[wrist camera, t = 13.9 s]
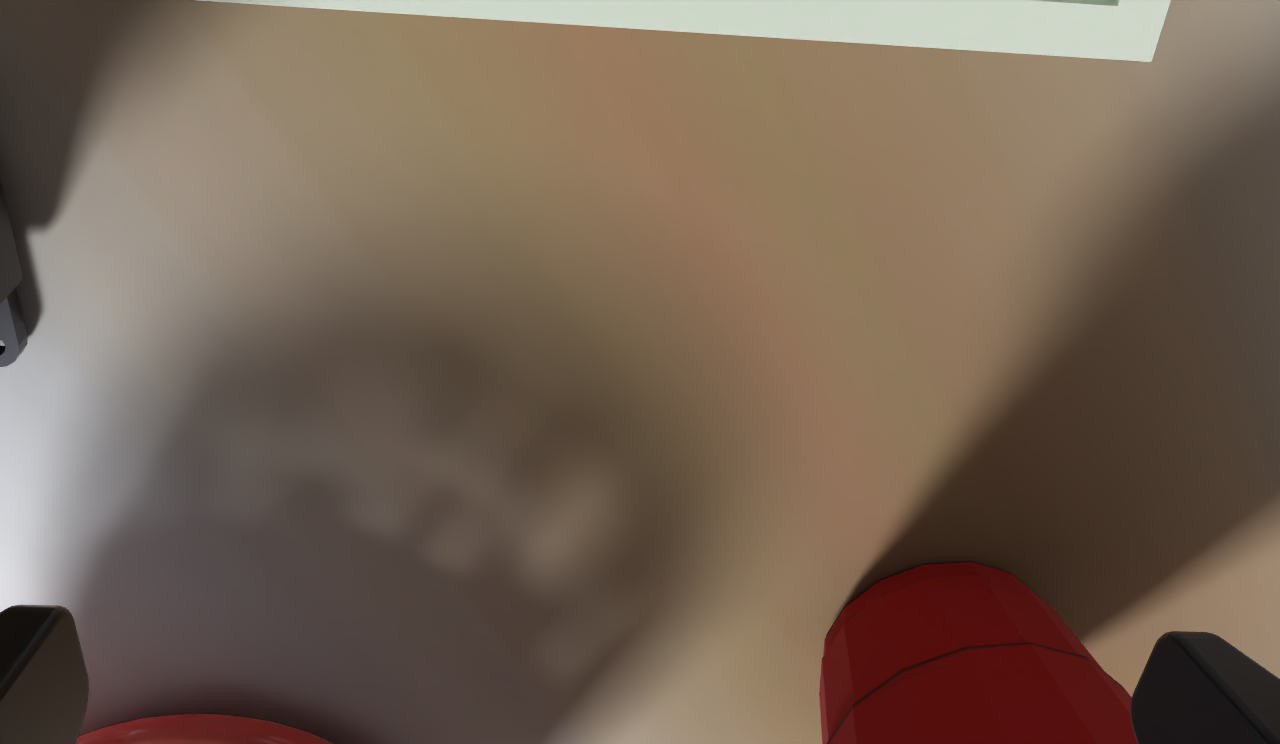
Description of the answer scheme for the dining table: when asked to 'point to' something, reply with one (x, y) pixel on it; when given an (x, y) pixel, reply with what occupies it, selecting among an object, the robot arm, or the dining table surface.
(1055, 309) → the dining table surface
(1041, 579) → the dining table surface
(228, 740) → the plant pot
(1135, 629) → the dining table surface
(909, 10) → the tray
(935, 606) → the plastic cup
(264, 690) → the dining table surface
